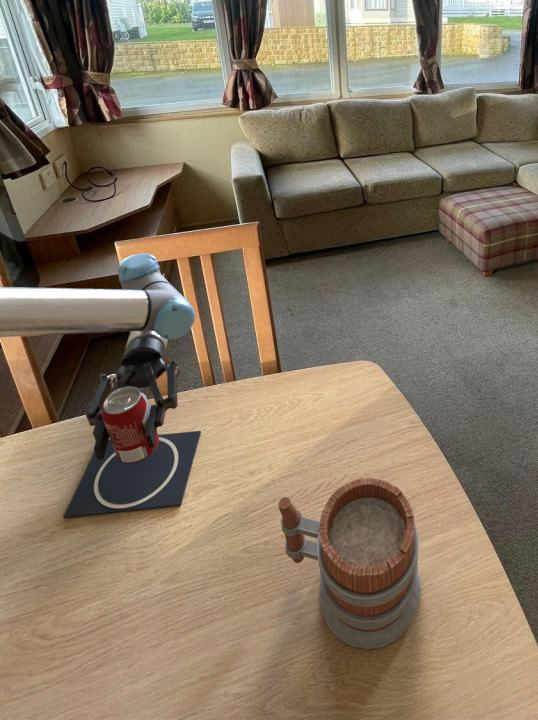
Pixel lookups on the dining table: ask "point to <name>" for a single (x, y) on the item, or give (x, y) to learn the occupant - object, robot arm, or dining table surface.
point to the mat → (136, 479)
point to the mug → (361, 560)
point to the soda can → (128, 424)
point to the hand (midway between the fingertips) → (124, 447)
